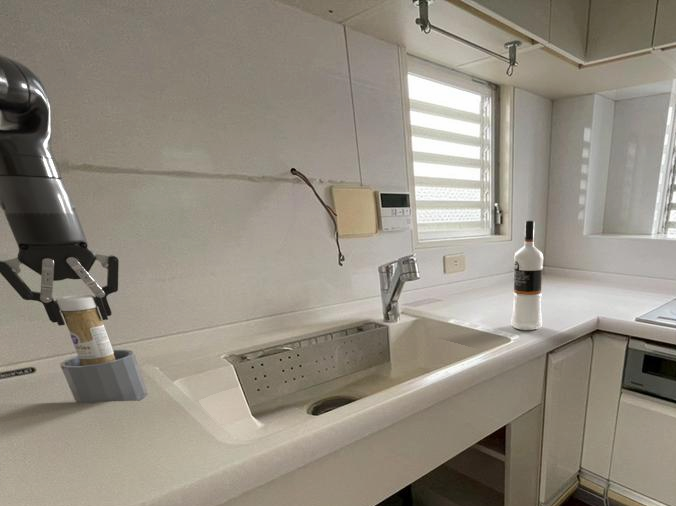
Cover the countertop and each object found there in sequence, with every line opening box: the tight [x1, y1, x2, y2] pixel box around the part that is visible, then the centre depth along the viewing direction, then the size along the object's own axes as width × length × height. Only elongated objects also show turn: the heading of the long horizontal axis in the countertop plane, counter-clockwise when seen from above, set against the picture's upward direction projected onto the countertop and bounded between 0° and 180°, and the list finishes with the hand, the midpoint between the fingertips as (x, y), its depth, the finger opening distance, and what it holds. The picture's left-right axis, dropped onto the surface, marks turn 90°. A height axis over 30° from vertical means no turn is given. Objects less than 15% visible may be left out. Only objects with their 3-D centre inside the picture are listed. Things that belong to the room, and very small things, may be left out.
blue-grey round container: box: [59, 349, 148, 404], centre depth 70 cm, size 9×9×8 cm
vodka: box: [510, 220, 544, 331], centre depth 116 cm, size 9×9×30 cm
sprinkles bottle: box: [55, 294, 116, 366], centre depth 68 cm, size 5×5×14 cm
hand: (83, 321), depth 67 cm, fingers closed on sprinkles bottle, 4 cm apart
